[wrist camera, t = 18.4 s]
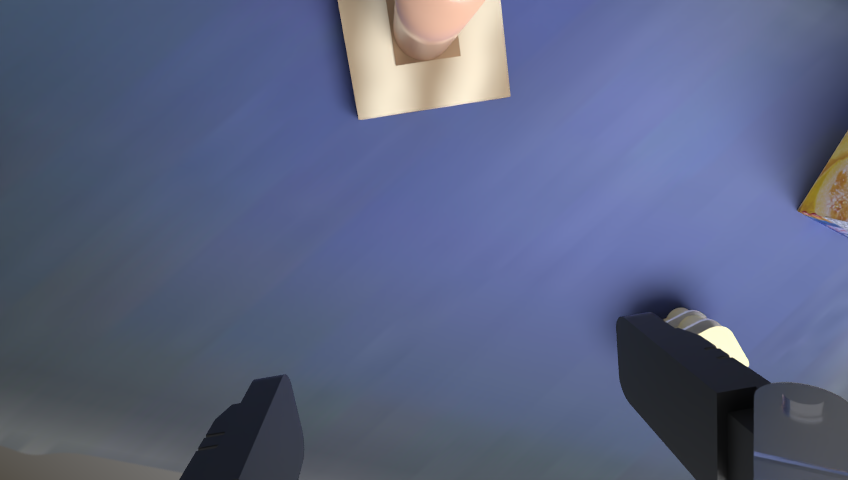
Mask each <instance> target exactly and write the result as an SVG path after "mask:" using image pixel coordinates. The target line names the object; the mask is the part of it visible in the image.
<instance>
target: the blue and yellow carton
mask: <svg viewBox="0 0 848 480" xmlns="http://www.w3.org/2000/svg"><path fill="white" fill-rule="evenodd" d="M797 211H798V212H800V213H802V214H804V215H806V216H808V217H810V218H812V219H813V220H815V221H817V222H819V223H821V224H823V225H825V226H827V227H829V228H831V229H832V230H834V231H836V232H838V233H840V234H842V235H844V236H846V237H848V131H847V132H846V134H845V135H844V137H843V139H842V140H841V142H840V143H839V145H838V147H837V148H836V150H835V151H834V153H833V155H832V156H831V158H830V159H829V161H828V163H827V164H826V166H825V167H824V169H823V171H822V172H821V174H820V175H819V177H818V179H817V180H816V182H815V183H814V185H813V186H812V188H811V190H810V191H809V193H808V194H807V196H806V198H805V199H804V201H803V202H802V204H801V206H800V207H799V209H798V210H797Z"/></svg>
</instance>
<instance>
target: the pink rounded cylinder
mask: <svg viewBox="0 0 848 480" xmlns="http://www.w3.org/2000/svg"><path fill="white" fill-rule="evenodd" d="M484 2H485V0H395V6H394V19H393V33H394V37H395V40H396V42H397V44H398V46H399V47H400V49H401V50H402V51H403V52H404V53H405V54H406V55H408V56H409V57H411V58H413V59H416V60H423V61H426V60H432V59H435V58H437V57H439V56H440V55H442V54H443V53H444V52H445V51H446V50H447V49H448V47H449V46H450V45H451V43H452V42H453V41H454V40H455V38H456V37H457V36H458V35H459V33H460V32H461V31H462V30H463V28H464V27H465V26H466V24H467V23H468V22H469V21H470V19H471V18H472V17H473V16H474V14H475V13H476V12H477V11H478V9H479V8H480V7H481V5H482V4H483V3H484Z"/></svg>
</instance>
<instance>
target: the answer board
mask: <svg viewBox="0 0 848 480" xmlns="http://www.w3.org/2000/svg"><path fill="white" fill-rule="evenodd" d="M338 5H339V11H340V17H341V22H342V28H343V34H344V39H345V45H346V51H347V56H348V62H349V68H350V73H351V79H352V85H353V90H354V96H355V102H356V107H357V113H358V119H359V120H363V119H370V118H376V117H383V116H389V115H396V114H402V113H409V112H415V111H422V110H428V109H435V108H441V107H448V106H454V105H461V104H467V103H474V102H480V101H487V100H493V99H500V98H506V97H510V87H509V78H508V68H507V58H506V49H505V39H504V29H503V20H502V10H501V1H500V0H485V2H484V3H483V4H482V5H481V7H480V8H479V9H478V11H477V12H476V13H475V14H474V16H473V17H472V18H471V19H470V21H469V22H468V23H467V24H466V26H465V27H464V28H463V30H462V31H461V32H460V33H459V35H458V36H457V37H456V38H455V40H454V41H453V42H452V43H451V45H450V46H449V47H448V49H447V50H446V51H445V52H444V53H443V54H442V55H440V56H439V57H437V58H435V59H432V60H426V61H423V60H416V59H413V58H411V57H409V56H408V55H406V54H405V53H404V52H403V51H402V50H401V49H400V47H399V46H398V44H397V42H396V40H395V37H394V33H393V19H394V6H395V0H338Z"/></svg>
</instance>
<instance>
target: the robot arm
mask: <svg viewBox="0 0 848 480" xmlns="http://www.w3.org/2000/svg"><path fill="white" fill-rule="evenodd" d="M616 333H617V349H618V366H619V379H620V383H621V387H622V390H623V393H624V395H625V397H626V399H627V400H628V402H629V403H630V404H631V405H632V407H633V408H634V409H635V410H636V411H637V412H638V413H639V415H640V416H641V417H642V418H643V419H644V420H645V422H646V423H647V424H648V425H649V426H650V427H651V428H652V430H653V431H654V432H655V433H656V434H657V435H658V436H659V438H660V439H661V440H662V441H663V442H664V443H665V445H666V446H667V447H668V448H669V449H670V450H671V451H672V453H673V454H674V455H675V456H676V457H677V458H678V459H679V461H680V462H681V463H682V464H683V465H684V466H685V468H686V469H687V470H688V471H689V472H690V473H691V474H692V476H693V477H694V478H695V479H696V480H848V402H847V401H846V400H845V399H843V398H842V397H840V396H838V395H836V394H834V393H832V392H830V391H827V390H825V389H822V388H819V387H815V386H811V385H806V384H801V383H792V382H779V383H770V382H769V381H768V380H766V379H765V378H763V377H762V376H760V375H759V374H757V373H756V372H754V371H753V370H751V369H750V368H748V367H747V366H745V365H744V364H742V363H741V362H739V361H738V360H736V359H735V358H733V357H731V358H730V356H729V354H727V353H726V352H724V351H723V350H721V349H720V348H716V346H715V345H714V344H712V343H711V342H709V341H708V340H706V339H705V338H703V337H702V336H700V335H698V334H695V333H692V332H689V331H686V330H683V329H681V328H674V327H672V326H671V325H670V324H668V323H667V322H665V321H664V320H662V319H661V318H660V317H658V316H657V315H655V314H654V313H652V312H646V313H640V314H635V315H629V316H623V317H619V318H618V320H617V324H616ZM303 458H304V438H303V432H302V427H301V423H300V419H299V415H298V411H297V406H296V402H295V398H294V394H293V390H292V385H291V382H290V379H289V377H288V376H287V375H286V374H285V375H279V376H273V377H267V378H261V379H255V380H253V381H252V383H251V385H250V387H249V389H248V390H247V392H246V394H245V396H244V398H243V400H242V402H241V403H239V404H233V405H231V406H230V407H229V408H228V409H227V410H226V411H224V412H223V413H222V414H221V415H220V416H219V417H218V418H216V419H215V421H214V422H213V424H212V426H211V428H210V429H209V431H208V433H207V434H206V438H204V439H203V441H202V443H201V444H200V446H199V448H198V451H196V453H195V454H194V456H193V458H192V459H191V461H190V463H189V464H188V466H187V468H186V469H185V471H184V473H183V474H182V476H181V478H180V480H298V478H299V474H300V471H301V467H302V463H303Z"/></svg>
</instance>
